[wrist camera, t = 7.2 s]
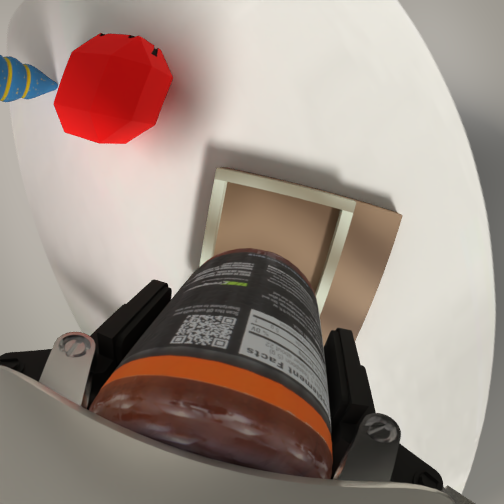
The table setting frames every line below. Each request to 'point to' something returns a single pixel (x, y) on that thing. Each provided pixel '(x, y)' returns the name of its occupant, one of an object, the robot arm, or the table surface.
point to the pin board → (306, 238)
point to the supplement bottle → (232, 369)
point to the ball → (112, 88)
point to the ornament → (22, 80)
